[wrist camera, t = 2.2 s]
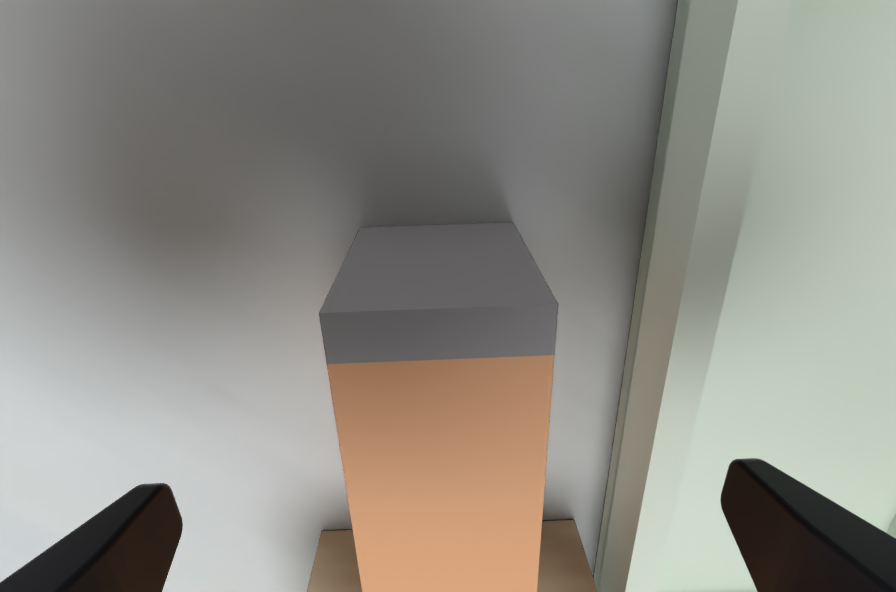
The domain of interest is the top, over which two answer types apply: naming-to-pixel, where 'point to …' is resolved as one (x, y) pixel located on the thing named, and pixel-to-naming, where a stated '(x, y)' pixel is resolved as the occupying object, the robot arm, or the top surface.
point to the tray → (759, 286)
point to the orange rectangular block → (442, 404)
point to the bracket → (559, 576)
